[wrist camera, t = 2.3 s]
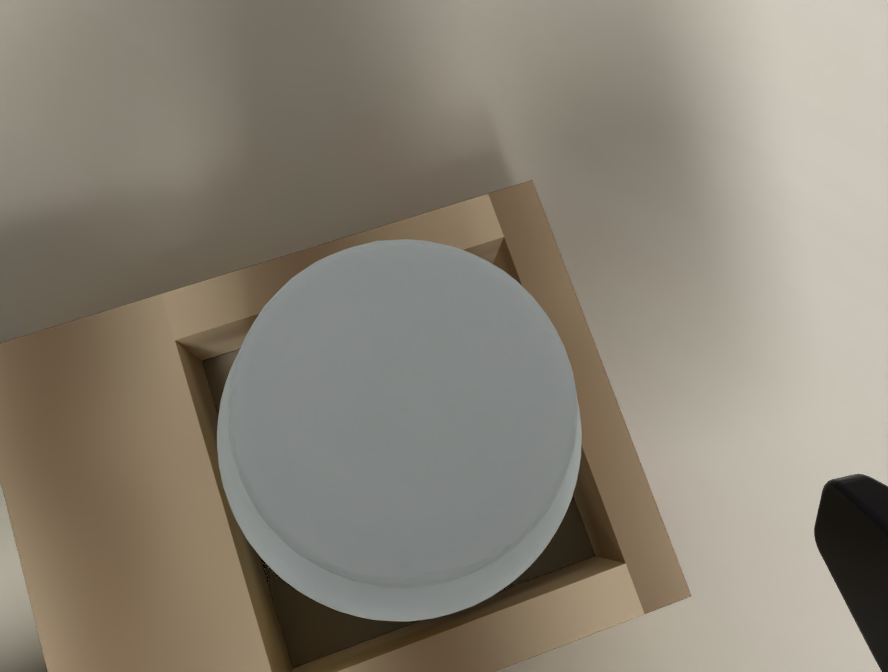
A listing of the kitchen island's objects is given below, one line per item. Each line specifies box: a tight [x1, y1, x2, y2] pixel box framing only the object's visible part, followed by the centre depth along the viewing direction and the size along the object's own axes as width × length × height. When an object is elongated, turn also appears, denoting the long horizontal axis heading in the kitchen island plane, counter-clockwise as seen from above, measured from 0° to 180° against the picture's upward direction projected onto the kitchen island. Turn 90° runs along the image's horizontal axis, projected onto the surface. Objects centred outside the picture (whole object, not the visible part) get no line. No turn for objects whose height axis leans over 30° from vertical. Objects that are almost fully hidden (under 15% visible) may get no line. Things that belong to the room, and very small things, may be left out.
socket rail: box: [0, 180, 691, 672], centre depth 17 cm, size 20×9×2 cm, turn 109°
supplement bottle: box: [217, 239, 582, 621], centre depth 14 cm, size 5×5×10 cm
